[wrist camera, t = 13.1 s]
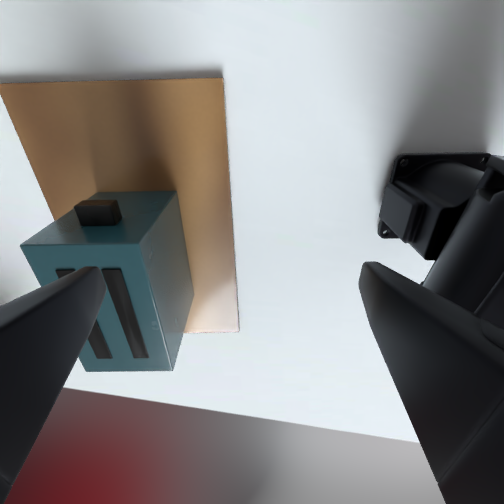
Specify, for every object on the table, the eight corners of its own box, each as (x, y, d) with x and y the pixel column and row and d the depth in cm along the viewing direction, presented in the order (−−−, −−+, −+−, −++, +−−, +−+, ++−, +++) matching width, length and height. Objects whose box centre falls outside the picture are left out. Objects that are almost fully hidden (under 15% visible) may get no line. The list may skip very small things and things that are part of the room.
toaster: (194, 294, 26) (172, 372, 19) (130, 295, 26) (84, 373, 19) (174, 174, 20) (132, 221, 13) (91, 175, 20) (4, 224, 13)
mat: (223, 77, 17) (222, 77, 17) (239, 329, 28) (239, 332, 28) (0, 83, 17) (-5, 83, 17) (105, 331, 29) (103, 334, 28)
